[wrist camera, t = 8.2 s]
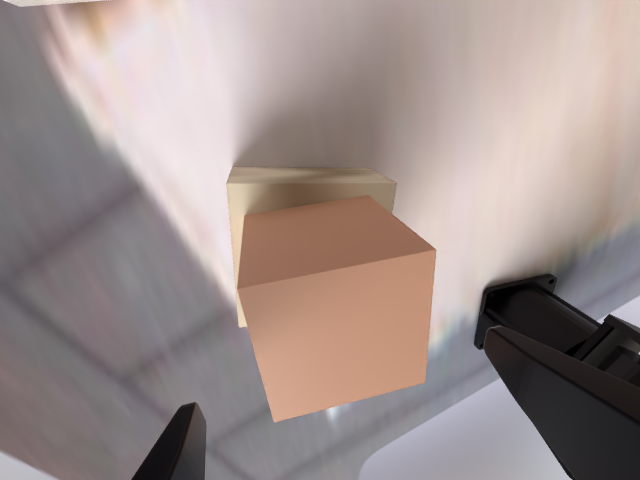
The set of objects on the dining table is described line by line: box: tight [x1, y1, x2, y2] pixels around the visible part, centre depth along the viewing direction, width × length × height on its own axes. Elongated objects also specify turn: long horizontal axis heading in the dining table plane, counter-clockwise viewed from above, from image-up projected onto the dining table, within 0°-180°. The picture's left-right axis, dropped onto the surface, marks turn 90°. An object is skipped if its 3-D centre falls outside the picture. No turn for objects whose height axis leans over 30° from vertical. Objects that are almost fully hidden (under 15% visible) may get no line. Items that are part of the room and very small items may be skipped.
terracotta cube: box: [237, 195, 436, 422], centre depth 12 cm, size 6×6×6 cm
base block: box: [226, 167, 397, 327], centre depth 17 cm, size 8×8×4 cm
